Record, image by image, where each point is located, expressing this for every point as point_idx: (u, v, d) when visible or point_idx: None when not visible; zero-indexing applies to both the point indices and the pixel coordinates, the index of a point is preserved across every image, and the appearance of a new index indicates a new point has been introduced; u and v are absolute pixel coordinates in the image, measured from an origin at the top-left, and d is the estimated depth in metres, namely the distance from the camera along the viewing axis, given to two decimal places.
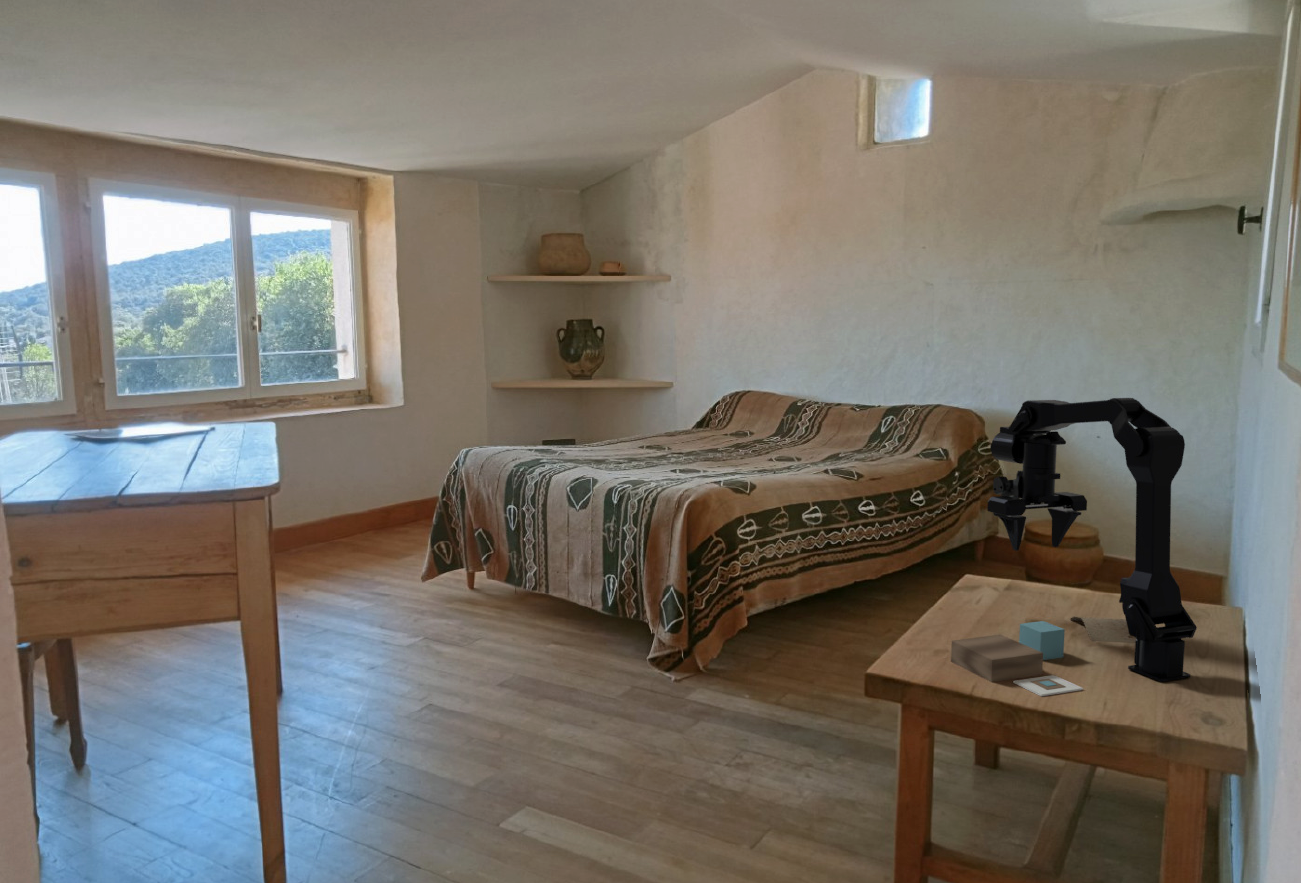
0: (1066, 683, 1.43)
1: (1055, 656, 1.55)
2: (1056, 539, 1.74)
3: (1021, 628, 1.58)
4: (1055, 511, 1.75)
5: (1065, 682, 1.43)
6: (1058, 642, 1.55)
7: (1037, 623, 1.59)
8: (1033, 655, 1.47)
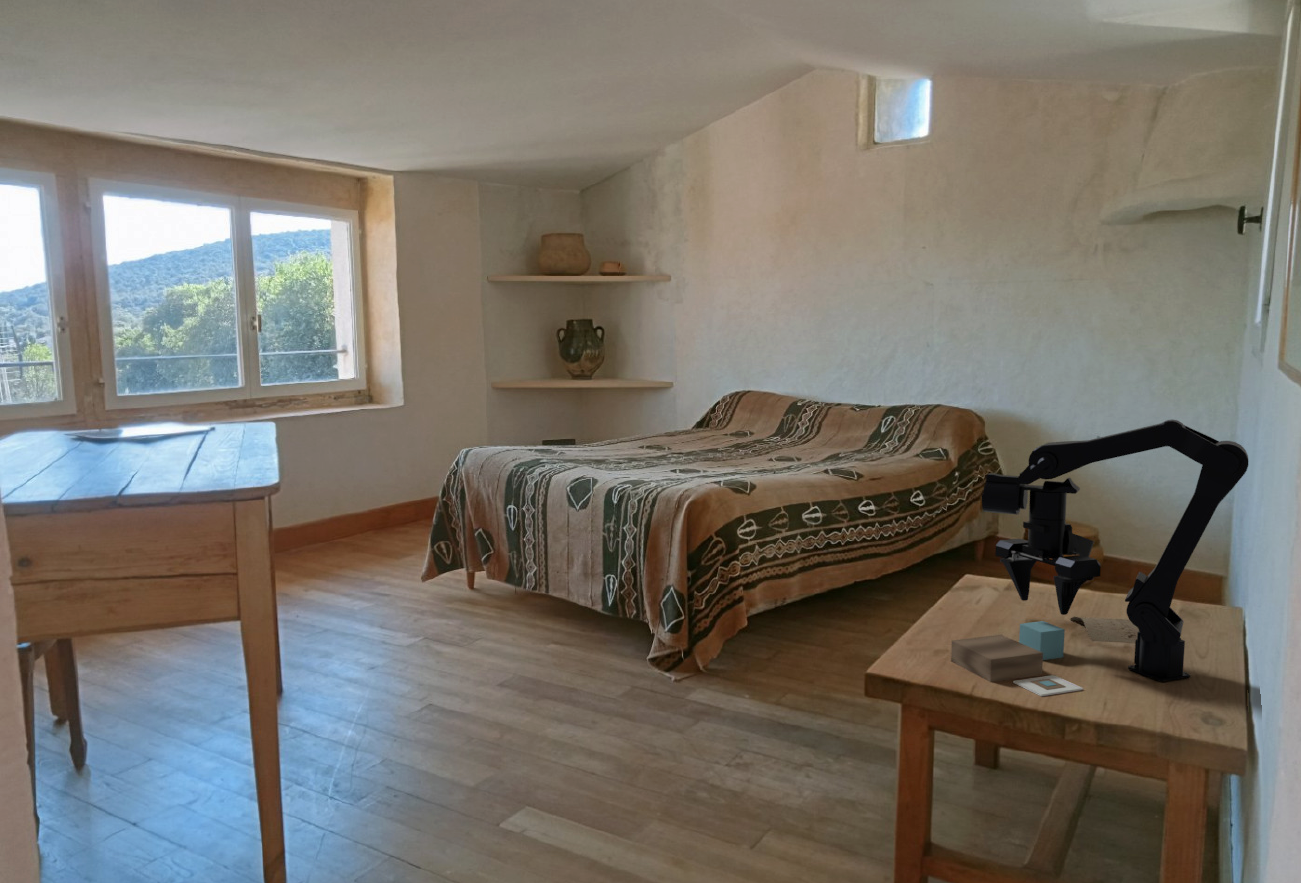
0: (1066, 683, 1.43)
1: (1055, 656, 1.55)
2: None
3: (1021, 628, 1.58)
4: None
5: (1065, 682, 1.43)
6: (1058, 642, 1.55)
7: (1037, 623, 1.59)
8: (1033, 655, 1.47)
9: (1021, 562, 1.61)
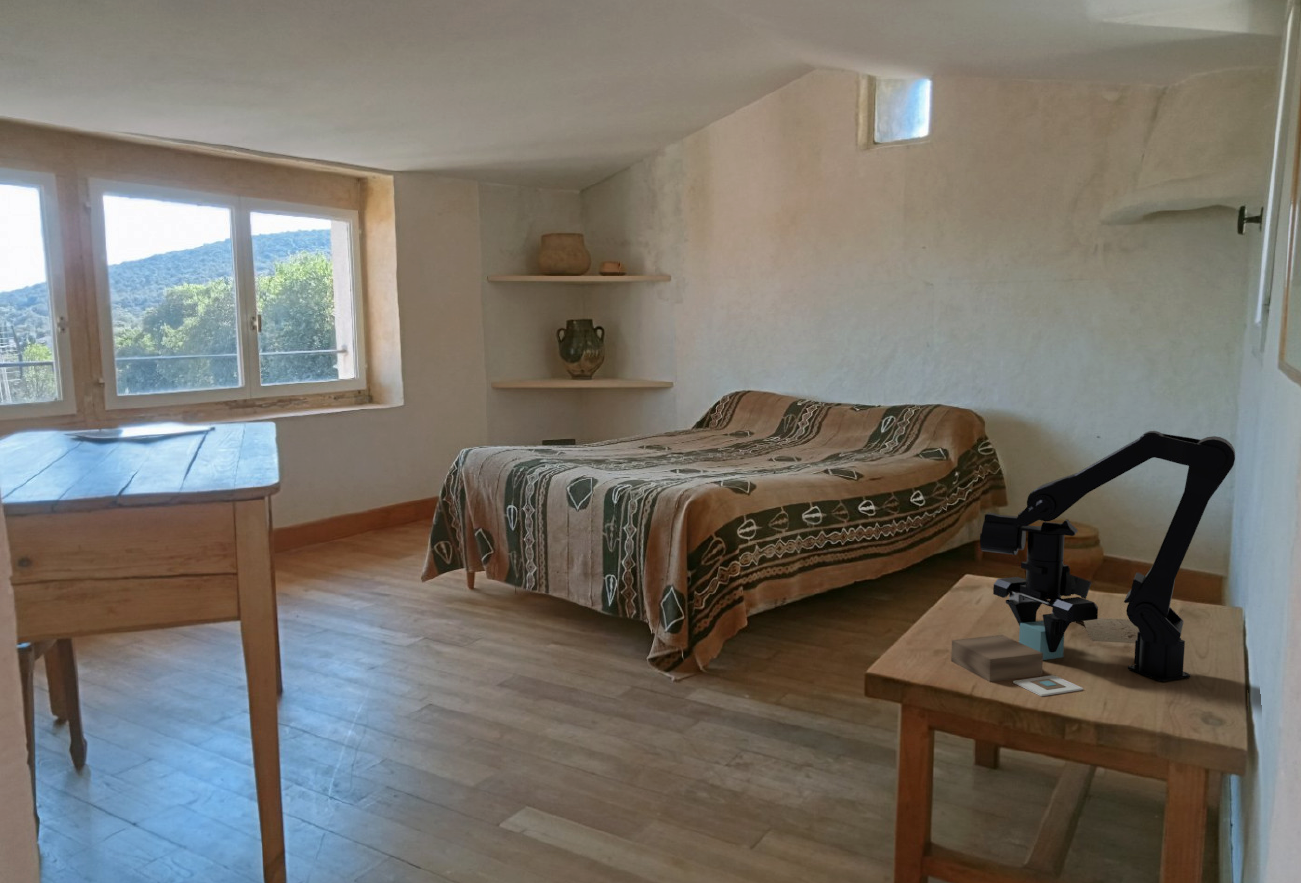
0: (1066, 683, 1.43)
1: (1055, 655, 1.55)
2: None
3: (1021, 627, 1.58)
4: None
5: (1065, 682, 1.43)
6: None
7: (1037, 622, 1.59)
8: (1033, 655, 1.47)
9: (1027, 604, 1.60)
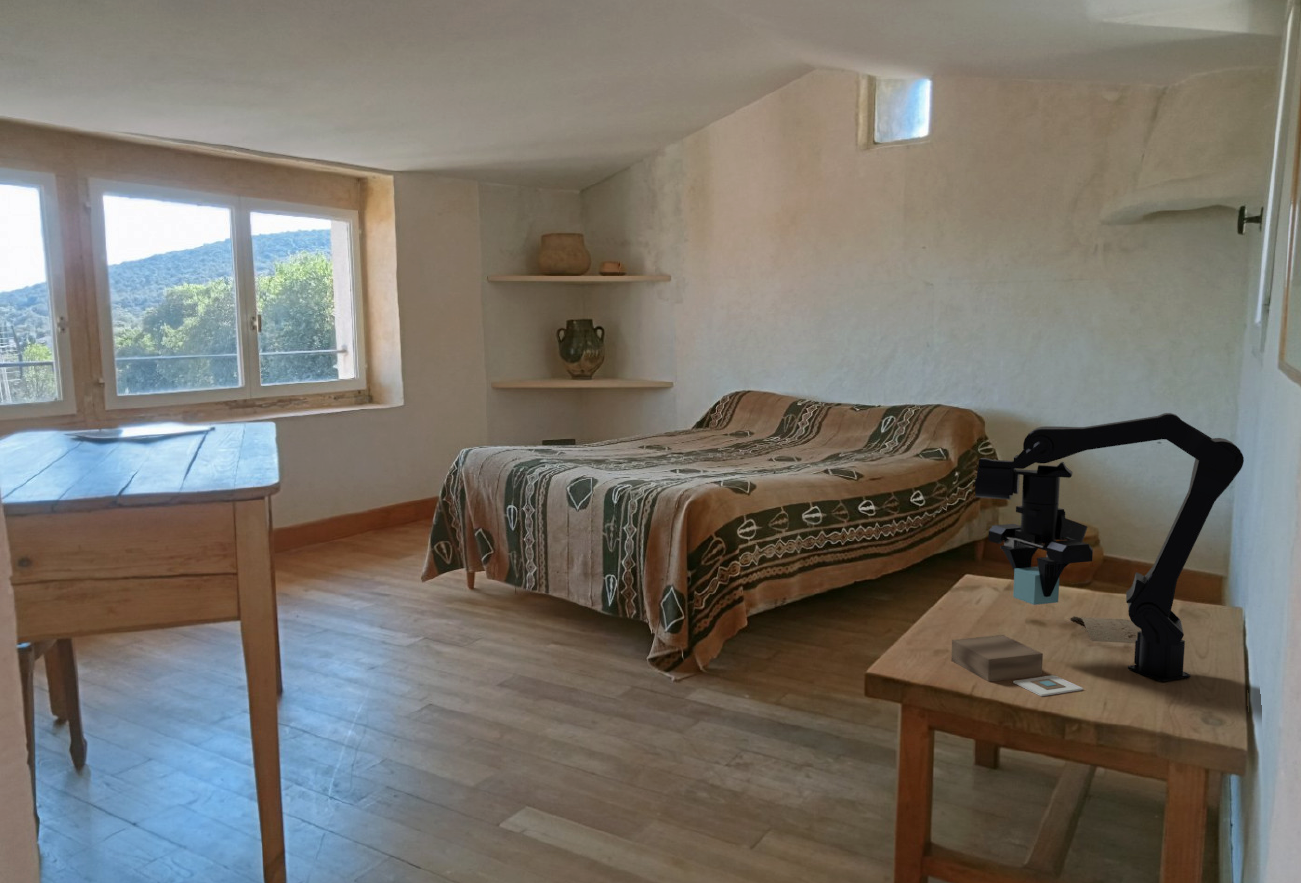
0: (1066, 683, 1.43)
1: (1050, 600, 1.53)
2: None
3: (1016, 573, 1.56)
4: None
5: (1065, 682, 1.43)
6: None
7: (1032, 568, 1.57)
8: (1033, 655, 1.46)
9: (1022, 549, 1.58)
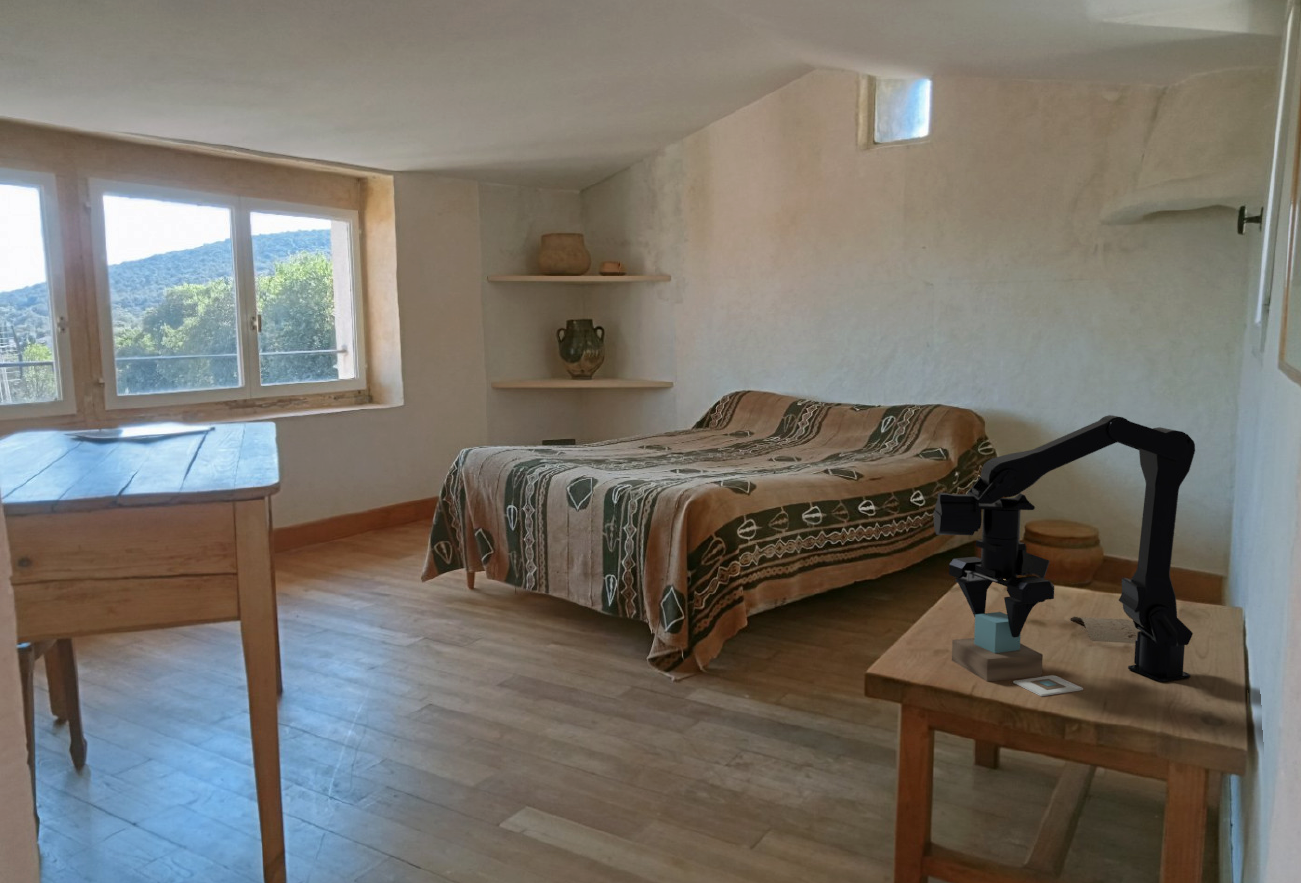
0: (1066, 683, 1.43)
1: (1011, 648, 1.48)
2: None
3: (976, 619, 1.51)
4: None
5: (1065, 682, 1.43)
6: None
7: (993, 614, 1.52)
8: (1032, 656, 1.46)
9: (976, 582, 1.54)
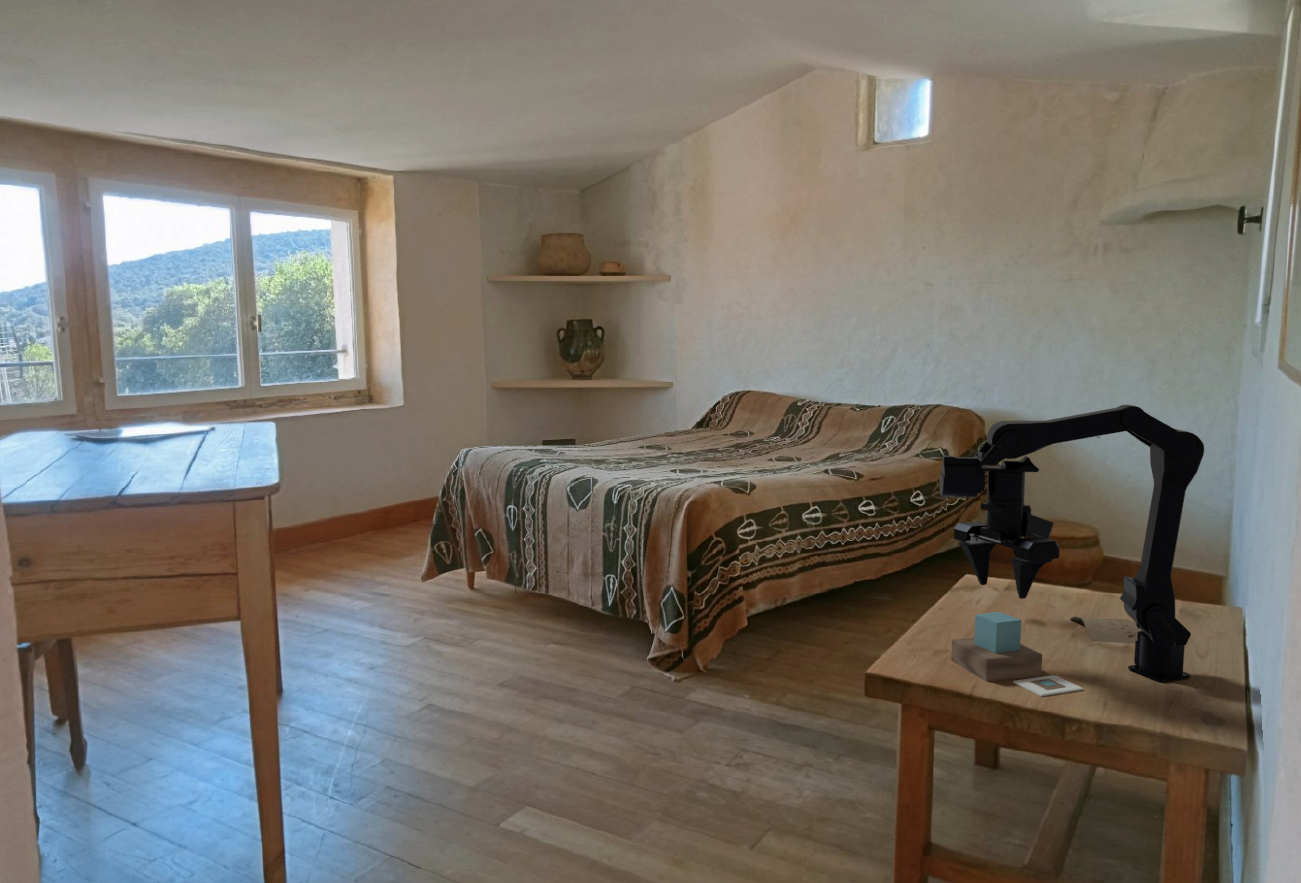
0: (1066, 683, 1.43)
1: (1011, 648, 1.48)
2: None
3: (976, 619, 1.51)
4: None
5: (1065, 682, 1.43)
6: (1014, 633, 1.48)
7: (993, 614, 1.52)
8: (1032, 656, 1.46)
9: (980, 545, 1.55)
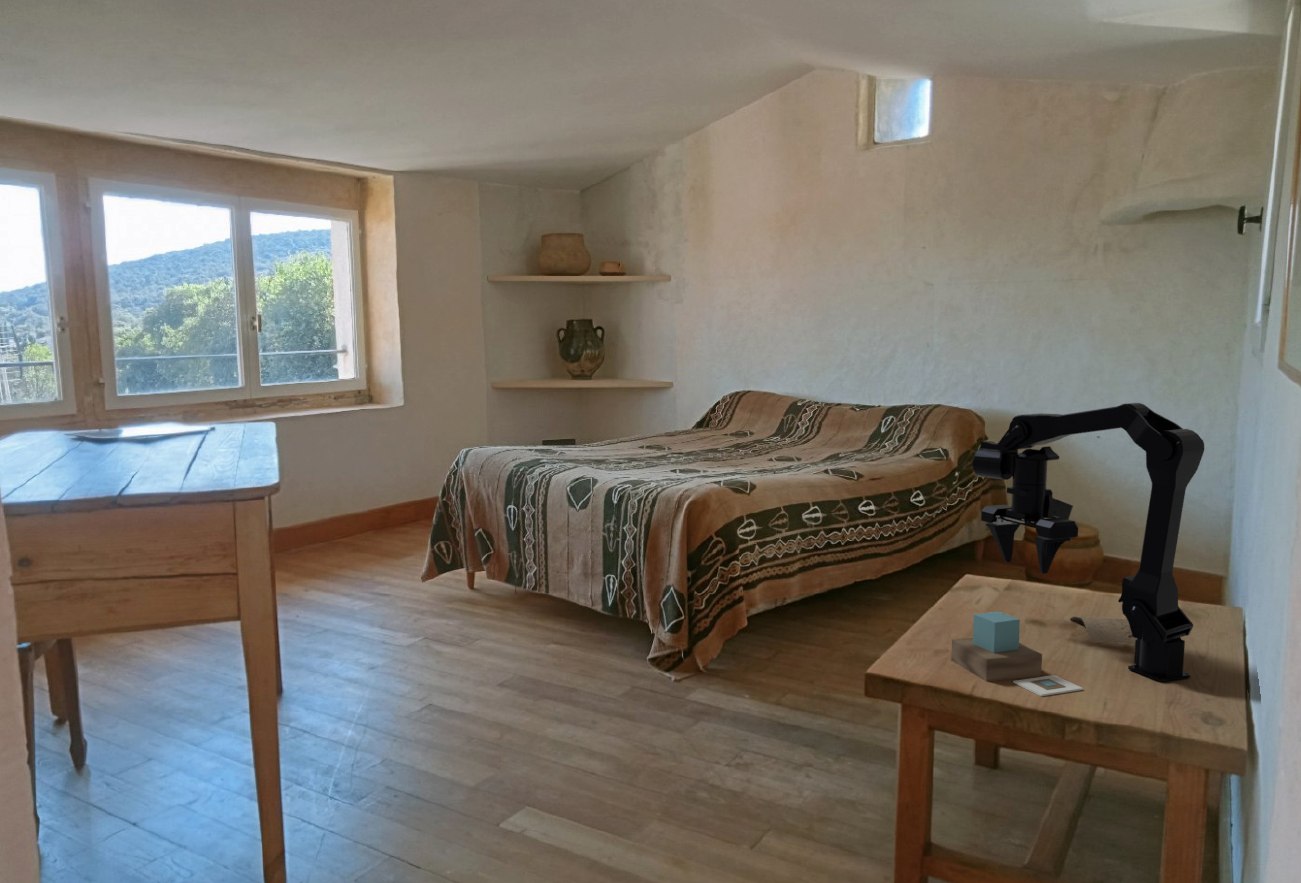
0: (1066, 683, 1.43)
1: (1010, 647, 1.48)
2: None
3: (975, 619, 1.51)
4: None
5: (1065, 682, 1.43)
6: (1013, 633, 1.48)
7: (992, 613, 1.52)
8: (1032, 656, 1.46)
9: (1005, 526, 1.71)
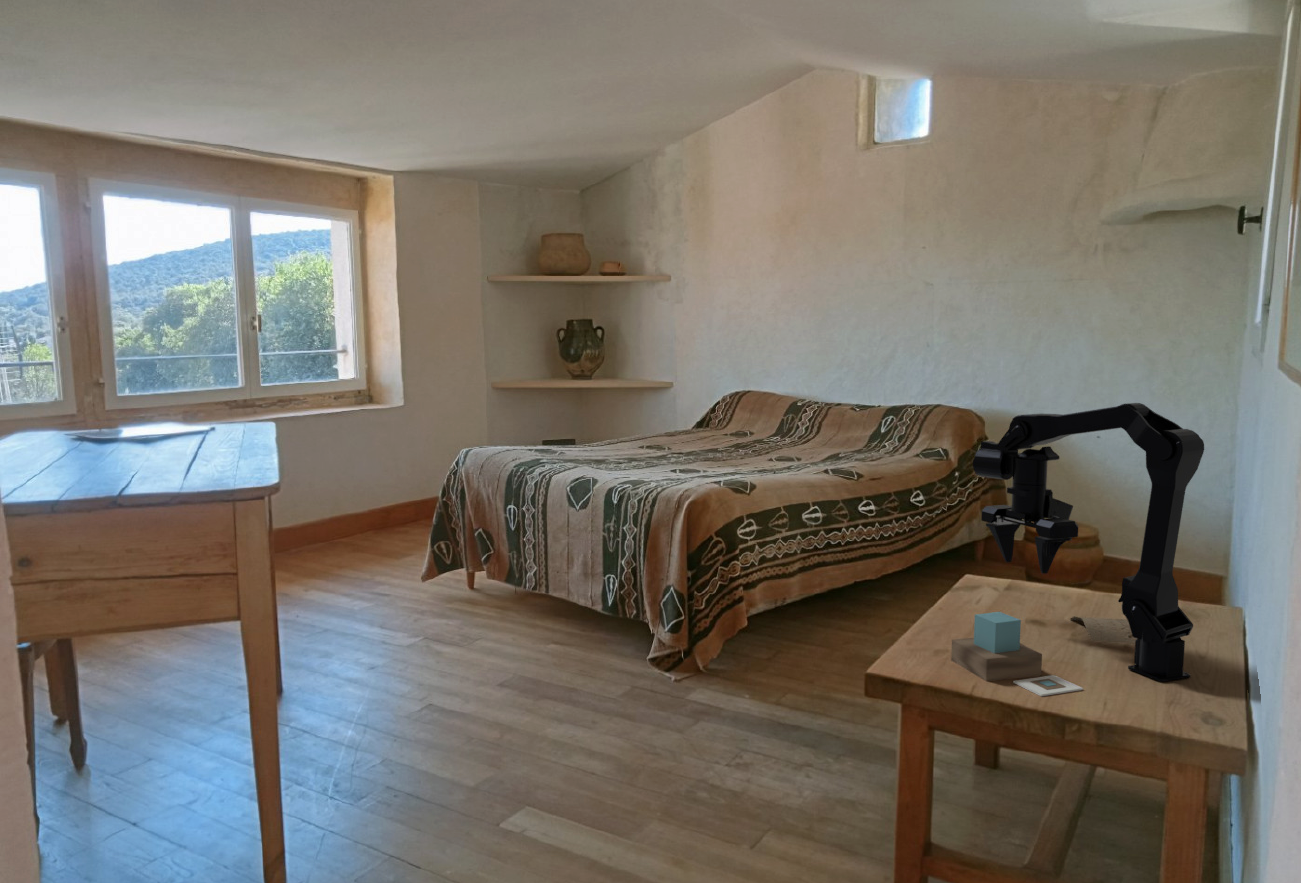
0: (1066, 683, 1.43)
1: (1011, 648, 1.48)
2: None
3: (976, 619, 1.51)
4: None
5: (1065, 682, 1.43)
6: (1014, 633, 1.48)
7: (993, 614, 1.52)
8: (1032, 656, 1.46)
9: (1005, 526, 1.71)
